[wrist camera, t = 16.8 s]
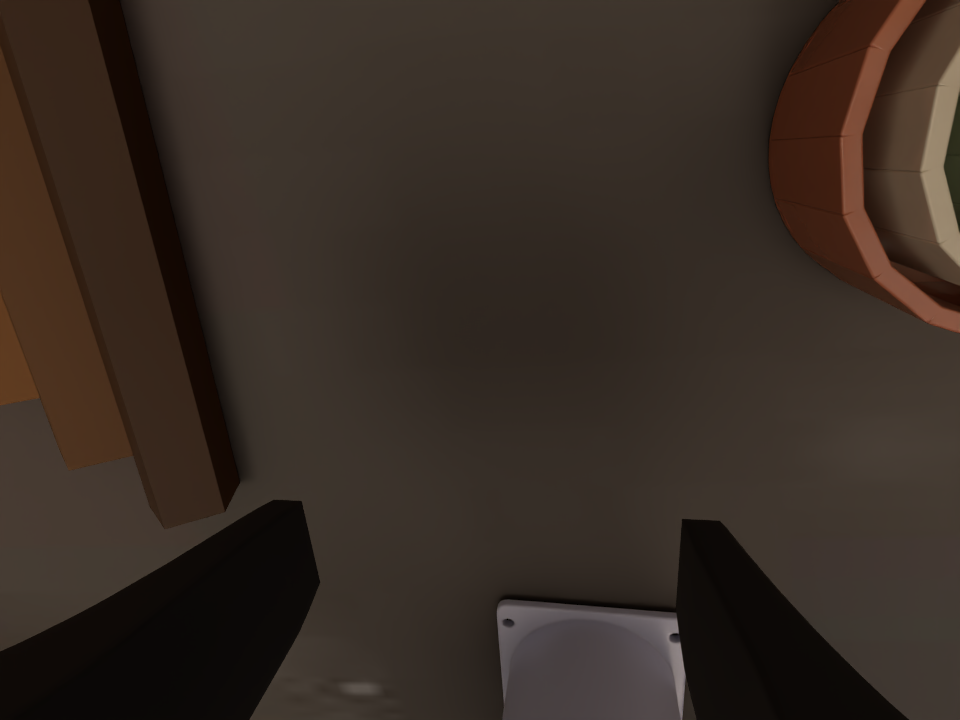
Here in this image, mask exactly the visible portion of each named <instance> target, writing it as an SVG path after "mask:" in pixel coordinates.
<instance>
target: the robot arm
mask: <svg viewBox="0 0 960 720" xmlns="http://www.w3.org/2000/svg"><path fill="white" fill-rule="evenodd" d="M319 584H320V580H319V575H318V571H317V566H316V562H315V558H314V553H313V549H312V545H311V540H310V536H309V531H308V527H307V523H306V518H305V514H304V510H303V505H302V501H289V500H273V501H271V502H269V503H267V504H265V505H263V506H261V507H259V508H258V509H256V510H254V511H252V512H251V513H249V514H247V515H246V516H244V517H242V518H241V519H239V520H237V521H236V522H234V523H232V524H231V525H229V526H227V527H226V528H224V529H223V530H221V531H219V532H218V533H216V534H215V535H213V536H211V537H210V538H208V539H206V540H205V541H203V542H202V543H200V544H198V545H197V546H195V547H193V548H192V549H190V550H189V551H187V552H185V553H184V554H182V555H180V556H179V557H177V558H176V559H174V560H172V561H171V562H169V563H167V564H166V565H164V566H162V567H161V568H159V569H157V570H155V571H154V572H152V573H150V574H148V575H147V576H145V577H143V578H142V579H140V580H138V581H136V582H135V583H133V584H131V585H129V586H128V587H126V588H124V589H122V590H121V591H119V592H117V593H116V594H114V595H112V596H110V597H109V598H107V599H105V600H103V601H101V602H100V603H98V604H96V605H94V606H92V607H90V608H88V609H86V610H85V611H83V612H81V613H79V614H77V615H75V616H73V617H71V618H69V619H67V620H65V621H63V622H61V623H59V624H57V625H55V626H53V627H51V628H49V629H47V630H45V631H43V632H41V633H39V634H37V635H35V636H33V637H31V638H29V639H27V640H25V641H23V642H20V643H18V644H16V645H14V646H12V647H9V648H7V649H5V650H3V651H0V720H249V719H250V717H251V716H252V714H253V712H254V710H255V709H256V707H257V705H258V704H259V702H260V700H261V698H262V697H263V695H264V693H265V692H266V690H267V688H268V686H269V685H270V683H271V681H272V679H273V678H274V676H275V674H276V673H277V671H278V669H279V667H280V666H281V664H282V662H283V660H284V659H285V657H286V655H287V653H288V651H289V650H290V648H291V646H292V644H293V643H294V641H295V639H296V637H297V635H298V634H299V632H300V629H301V627H302V625H303V623H304V620H305V618H306V616H307V613H308V611H309V609H310V606H311V604H312V601H313V599H314V596H315V594H316V591H317V589H318V586H319ZM506 619H511V620H512V621H509V620H506ZM497 624H498V637H499V649H500V661H501V673H502V685H503V698H504V711H503V718H502V720H682V716H683V703H684V691H685V678H686V679H687V683H688V687H689V691H690V695H691V699H692V703H693V707H694V711H695V715H696V719H697V720H909V719H908V718H906V717H905V716H904V715H903V714H902V713H901V712H900V711H898V710H897V709H896V708H895V707H894V706H893V705H892V704H890V703H889V702H888V701H887V700H886V699H885V698H884V697H883V696H882V695H881V694H880V693H879V692H878V691H877V690H875V689H874V688H873V687H872V686H871V685H870V684H869V683H868V682H867V681H866V680H865V679H864V678H863V677H862V676H861V675H860V674H859V673H858V672H857V671H856V670H855V669H854V668H853V667H852V666H851V665H850V664H849V663H848V662H847V661H846V660H845V659H844V658H843V657H842V656H841V655H840V654H839V653H838V652H837V651H836V650H835V649H834V648H833V647H832V646H831V645H830V644H829V643H828V642H827V641H826V640H825V639H824V638H823V637H822V636H821V635H820V634H819V633H818V632H817V631H816V630H815V629H814V628H813V627H812V626H811V625H810V624H809V622H808V621H807V620H806V619H805V618H804V617H803V616H802V615H801V614H800V613H799V612H798V610H797V609H796V608H795V607H794V606H793V605H792V604H791V603H790V602H789V601H788V600H787V599H786V597H785V596H784V595H783V594H782V593H781V592H780V591H779V590H778V589H777V587H776V586H775V585H774V584H773V583H772V582H771V581H770V579H769V578H768V577H767V576H766V575H765V574H764V572H763V571H762V570H761V569H760V568H759V567H758V565H757V564H756V563H755V562H754V561H753V560H752V558H751V557H750V556H749V555H748V554H747V552H746V551H745V550H744V549H743V547H742V546H741V545H740V544H739V543H738V541H737V540H736V539H735V538H734V536H733V535H732V534H731V533H730V532H729V530H728V529H727V528H726V527H725V526H724V525H723V524H722V523H721V522H720V521H712V520H691V519H682V528H681V542H680V557H679V571H678V586H677V600H676V613H672V612H660V611H647V610H635V609H622V608H610V607H597V606H585V605H572V604H560V603H547V602H535V601H522V600H510V599H507V600H502V601H500V602H499V604H498V607H497ZM673 633H678V635H672V634H673Z"/></svg>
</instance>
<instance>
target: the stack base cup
mask: <svg viewBox="0 0 960 720" xmlns="http://www.w3.org/2000/svg"><path fill="white" fill-rule="evenodd" d="M926 1H927V0H840V1H839V2H838V4H837V5H836V6H835V7H834V8H833V9H832V10H831V11H830V12H829V14H828V15H827V16H826V17H825V18H824V20H823V21H822V22H821V23H820V24H819V26H818V27H817V28H816V30H815V31H814V33H813V34H812V35H811V37H810V38H809V40H808V41H807V42H806V44H805V45H804V47H803V49H802V50H801V52H800V54H799V56H798V57H797V59H796V61H795V63H794V65H793V66H792V68H791V70H790V72H789V75H788V77H787V79H786V82H785V84H784V86H783V89H782V91H781V93H780V96H779V100H778V103H777V106H776V110H775V113H774V116H773V122H772V128H771V134H770V140H769V173H770V183H771V187H772V191H773V195H774V199H775V203H776V206H777V208H778V211H779V213H780V215H781V218H782V220H783V222H784V224H785V226H786V227H787V229H788V230H789V232H790V234H791V235H792V237H793V238H794V240H795V241H796V242H797V243H798V244H799V246H800V247H801V248H802V249H803V250H804V251H805V252H806V253H807V254H808V255H809V256H810V257H811V258H812V259H814V260H815V261H816V262H817V263H818V264H819V265H821V266H822V267H824V268H826V269H827V270H829V271H830V272H831V273H832V274H834V275H835V276H836V277H837V278H839V279H840V280H842V281H844V282H846V283H848V284H850V285H852V286H854V287H856V288H858V289H860V290H862V291H864V292H866V293H868V294H870V295H872V296H874V297H876V298H878V299H880V300H882V301H884V302H886V303H888V304H890V305H892V306H894V307H896V308H898V309H900V310H902V311H904V312H906V313H908V314H910V315H912V316H914V317H916V318H918V319H920V320H922V321H924V322H926V323H928V324H930V325H934V326H937V327H940V328H943V329H946V330H950V331H953V332H956V333H959V334H960V286H959V285H956V284H953V283H950V282H948V281H945V280H942V279H939V278H936V277H934V276H931V275H928V274H925V273H922V272H920V271H917V270H914V269H911V268H908V267H906V266H903V265H900V264H897V263H894V262H892V261H890V260H889V258H888V256H887V254H886V252H885V250H884V248H883V245H882V243H881V241H880V239H879V237H878V235H877V233H876V231H875V228H874V226H873V224H872V222H871V220H870V218H869V216H868V214H867V212H866V209H865V207H864V170H863V132H864V129H865V126H866V123H867V120H868V117H869V114H870V111H871V108H872V105H873V102H874V99H875V96H876V93H877V90H878V87H879V84H880V81H881V78H882V75H883V72H884V69H885V67H886V64H887V61H888V58H889V55H890V52H891V50H892V49H893V48H894V46H895V45H896V43H897V42H898V40H899V39H900V38H901V36H902V35H903V33H904V32H905V30H906V29H907V28H908V26H909V25H910V23H911V22H912V20H913V19H914V18H915V16H916V15H917V13H918V12H919V11H920V9H921V8H922V6H923V5H924V3H925V2H926Z"/></svg>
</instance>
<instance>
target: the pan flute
mask: <svg viewBox="0 0 960 720" xmlns="http://www.w3.org/2000/svg"><path fill="white" fill-rule="evenodd" d="M36 398H40V400H41V402H42V405H43V407H44V410H45V413H46V415H47V418H48V421H49V423H50V426H51V429H52V431H53V434H54V437H55V439H56V442H57V445H58V447H59V450H60V452H61V455H62V457H63V459H64V461H65V463H66V465H67V468H68V470H74V469H78V468H82V467H86V466H91V465H95V464H99V463H103V462H108V461H112V460H116V459H120V458H125V457H129V456H134V459H135V462H136V465H137V468H138V471H139V475H140V478H141V481H142V484H143V487H144V490H145V493H146V496H147V499H148V502H149V505H150V508H151V509H152V511H153V512H154V514H155V515H156V517H157V518H158V520H159V521H160V523H161V524H162V526H163V527H164V529H168V528H171V527H174V526H178V525H181V524H185V523H188V522H192V521H195V520H199V519H202V518H206V517H209V516H213V515H216V514H220V513H223V512H225V511H226V509H227V507H228V505H229V503H230V501H231V499H232V497H233V495H234V493H235V491H236V489H237V487H238V485H239V483H240V481H239V477H238V473H237V469H236V465H235V461H234V457H233V453H232V449H231V445H230V441H229V437H228V433H227V429H226V425H225V421H224V417H223V413H222V409H221V405H220V401H219V397H218V393H217V389H216V385H215V381H214V377H213V373H212V369H211V365H210V361H209V357H208V353H207V349H206V345H205V341H204V337H203V333H202V329H201V325H200V321H199V317H198V313H197V309H196V305H195V301H194V297H193V293H192V289H191V285H190V281H189V277H188V273H187V269H186V265H185V261H184V257H183V253H182V249H181V245H180V241H179V237H178V233H177V229H176V225H175V221H174V217H173V213H172V209H171V205H170V201H169V197H168V193H167V189H166V185H165V181H164V177H163V173H162V169H161V165H160V161H159V157H158V153H157V149H156V145H155V141H154V137H153V133H152V129H151V125H150V121H149V117H148V113H147V109H146V105H145V101H144V97H143V93H142V89H141V85H140V81H139V77H138V73H137V69H136V65H135V61H134V57H133V53H132V49H131V45H130V41H129V37H128V33H127V29H126V25H125V21H124V17H123V13H122V9H121V5H120V1H119V0H0V405H4V404H10V403H15V402H20V401H26V400H31V399H36Z"/></svg>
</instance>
